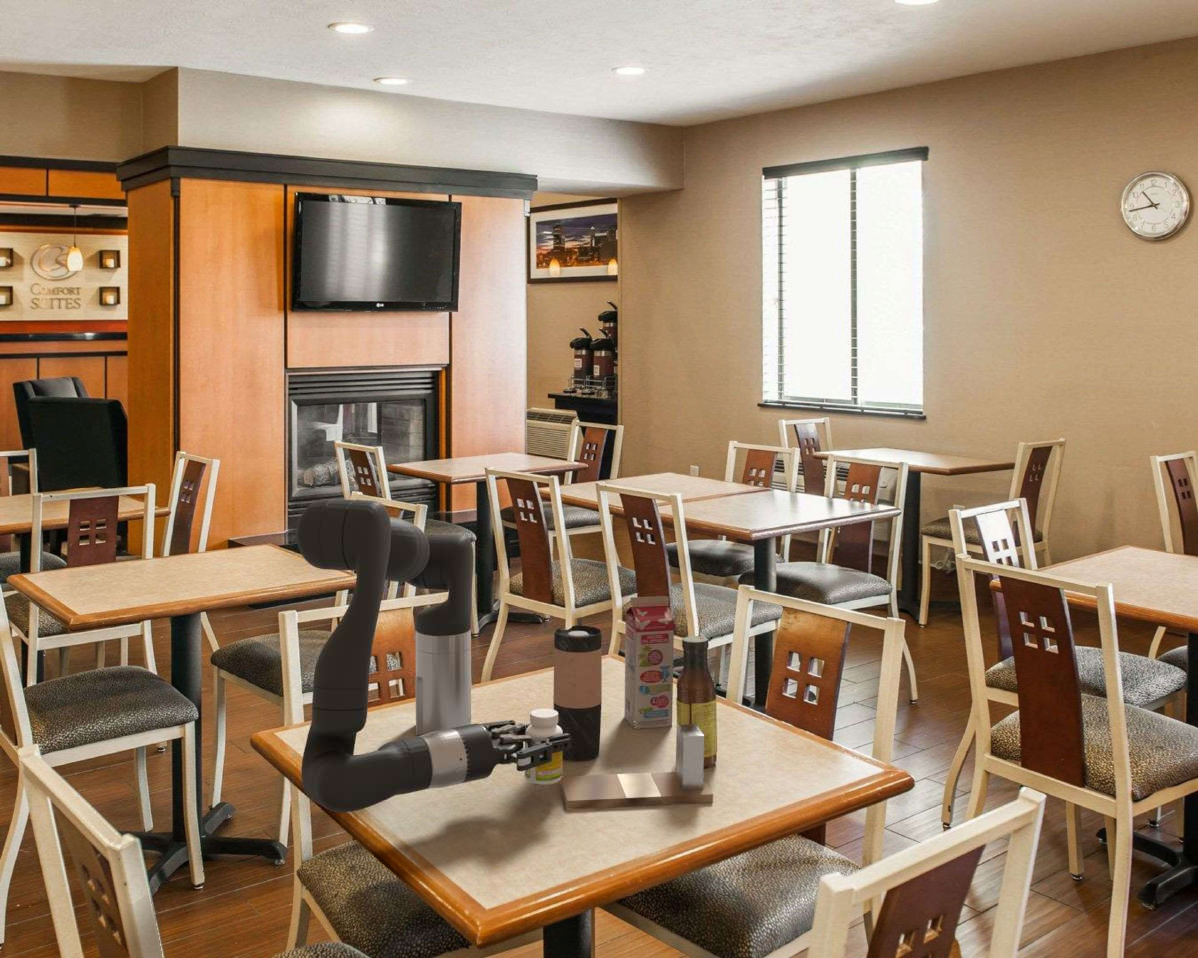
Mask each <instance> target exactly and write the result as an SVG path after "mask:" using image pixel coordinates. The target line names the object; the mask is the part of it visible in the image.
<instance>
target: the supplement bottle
mask: <svg viewBox="0 0 1198 958" xmlns="http://www.w3.org/2000/svg"><path fill="white" fill-rule="evenodd" d="M529 722H530V723H529V724H532V725H530V726H529V727H528V728H527V729H526V731H525V735H531V736H532V738H547V737H551V736H555V735H560V734H563V731H562V729H561V728H560V727H559V726H558V725H556V724H557V723H558V712H557V711H555V710H554V709H552V708H537V709H534V710H531V711H530V714H529ZM536 745H540V744H535V745H533V746H536ZM524 749H527V743H526V742H524ZM562 753H563V751H560V752H556V753H552V761H551V762H549V763H546V764H543V765H540V766H537V767H534V768H531V769H528V770H525V771H524V778H525V780H526V781H527V782H529V783H530V784H531V783H532V784H535V785H553V784H556V783H558V782H560V780H561V778H562V777H563V759H562Z"/></svg>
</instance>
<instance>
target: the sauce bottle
mask: <svg viewBox="0 0 1198 958" xmlns="http://www.w3.org/2000/svg"><path fill="white" fill-rule="evenodd" d="M681 640H682V641H681V648H682V650H683V663H682V665H683V667H682V670H681V671H680V673H678V674H679V675H678V676H677V680H676V699H675V702H676V726H677V725H687V724H697V726H698V727H699V729H700V730H701V732H702V733H703V735H704V766H703V769H705V768H709V767H712V766H714V765H715V764H716V762H717V760H718V759H717V752H718V726H717V725H718V724H717V722H718V721H717V719H718V718H717V715H718V714H717V692H716V685H715V682H714V679H713V678H712V675H711V672H710V670H709V662H708V649H709V645H710V644H709V639H708V637H705V636H702V635H701V636H700V635H692V636H691V635H690V636H684V637H683V638H682V639H681Z"/></svg>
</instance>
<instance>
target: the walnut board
mask: <svg viewBox="0 0 1198 958" xmlns="http://www.w3.org/2000/svg"><path fill="white" fill-rule="evenodd" d="M559 784H560V788H561V793H562V795H563V799H564V803H565V807H566V809H567V810H573V809H578V810H579V809H594V808H597V809H598V808H619V807H637V806H639V807H640V806H659V805H661V806H662V805H679V804H680V805H681V804H683V805H684V804H685V805H686V804H699V803H700V804H701V803H702V804H703V802H707V803H713V801H714V794H713V792H712V790H711V789H710V787H709V785H708V784H707V781H706V780H705V778H704V777H703V789H693V790H682V788H681V786H680V784H679V782H678V780H677V779H676V771H665V772H664V771H663V772H661V771H660V772H636V773H618V774H615V773H614V774H596V775H595V774H594V775H593V774H592V775H591V774H590V775H572V776H571V775H569V776H562V778H561V780H559Z"/></svg>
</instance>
